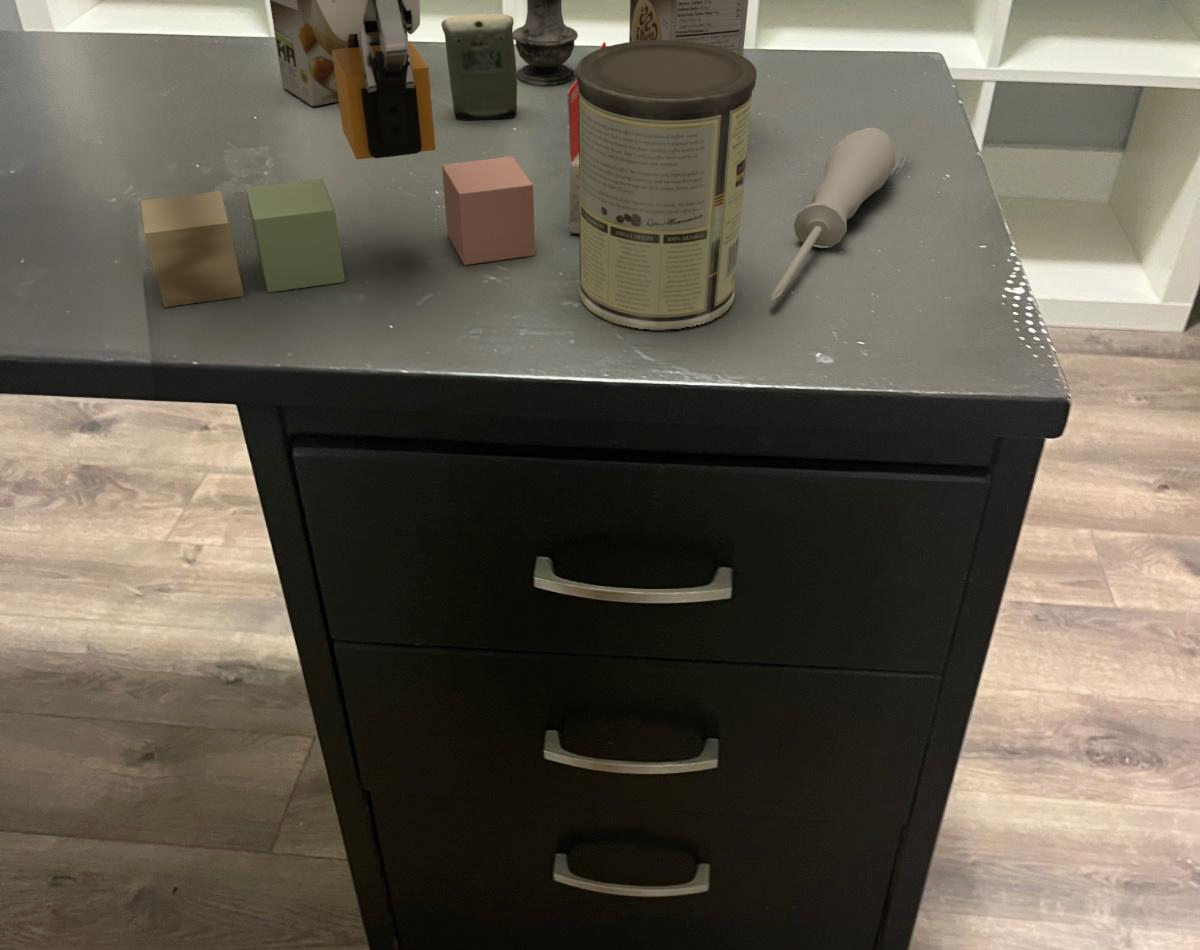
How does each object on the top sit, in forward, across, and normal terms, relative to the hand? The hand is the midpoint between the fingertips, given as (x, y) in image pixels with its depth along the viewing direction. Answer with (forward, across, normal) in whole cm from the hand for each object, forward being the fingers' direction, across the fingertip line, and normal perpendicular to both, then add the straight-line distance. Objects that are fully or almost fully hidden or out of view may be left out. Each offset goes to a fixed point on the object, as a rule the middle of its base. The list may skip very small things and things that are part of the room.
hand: (386, 134), depth 74 cm
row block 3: (+8, 0, +6) cm, 11 cm away
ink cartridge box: (+9, -4, +16) cm, 18 cm away
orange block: (0, 0, 0) cm, 0 cm away
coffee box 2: (+9, -14, +26) cm, 31 cm away
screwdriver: (+9, +6, +29) cm, 31 cm away
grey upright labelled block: (+9, -24, +12) cm, 28 cm away
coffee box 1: (+9, -34, +2) cm, 35 cm away
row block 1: (+8, 0, -13) cm, 16 cm away
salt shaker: (+9, -32, +20) cm, 39 cm away
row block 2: (+8, 0, -7) cm, 11 cm away
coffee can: (+9, +10, +15) cm, 20 cm away
